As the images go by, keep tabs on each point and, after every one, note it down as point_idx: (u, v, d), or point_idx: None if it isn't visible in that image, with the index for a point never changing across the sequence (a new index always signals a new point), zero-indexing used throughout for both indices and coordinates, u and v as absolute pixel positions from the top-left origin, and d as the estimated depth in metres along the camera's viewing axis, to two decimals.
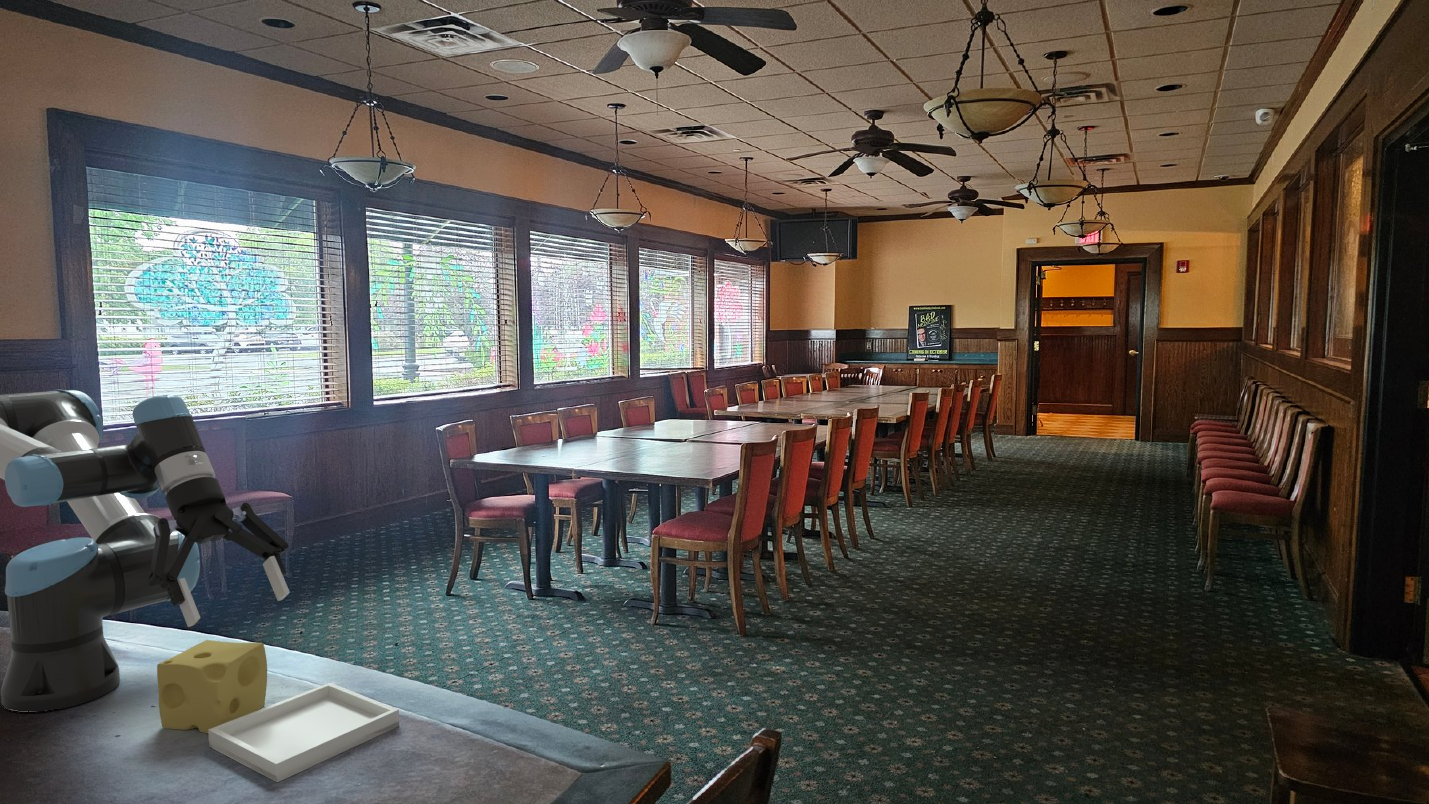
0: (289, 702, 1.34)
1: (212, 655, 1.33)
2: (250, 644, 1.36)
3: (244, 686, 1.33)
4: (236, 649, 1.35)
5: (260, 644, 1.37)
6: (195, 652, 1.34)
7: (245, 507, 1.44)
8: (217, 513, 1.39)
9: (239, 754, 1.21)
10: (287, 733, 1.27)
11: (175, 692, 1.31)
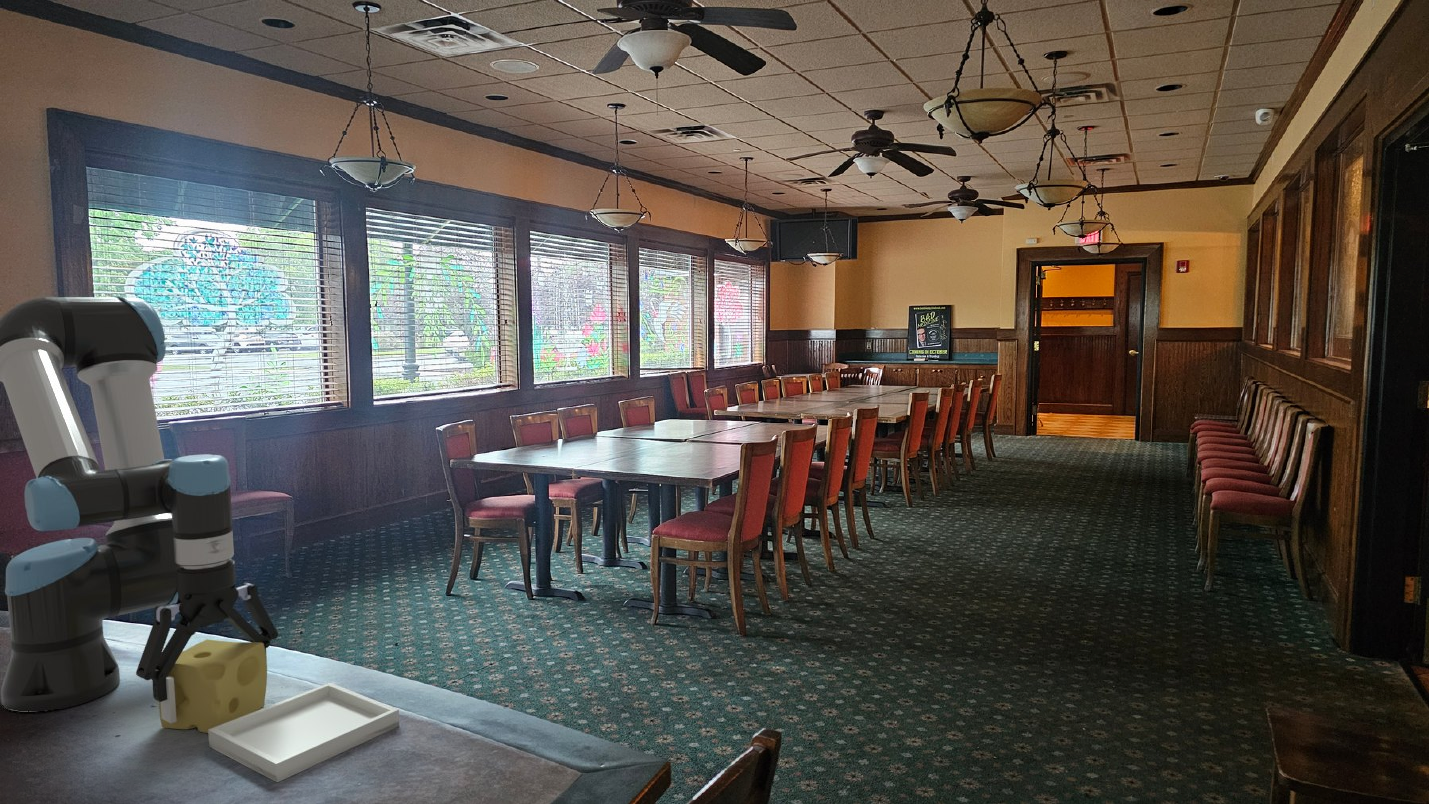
0: (289, 702, 1.34)
1: (212, 655, 1.33)
2: (250, 644, 1.36)
3: (243, 686, 1.33)
4: (235, 648, 1.34)
5: (260, 643, 1.36)
6: (195, 652, 1.34)
7: (252, 591, 1.37)
8: (223, 602, 1.32)
9: (239, 754, 1.21)
10: (287, 733, 1.27)
11: None
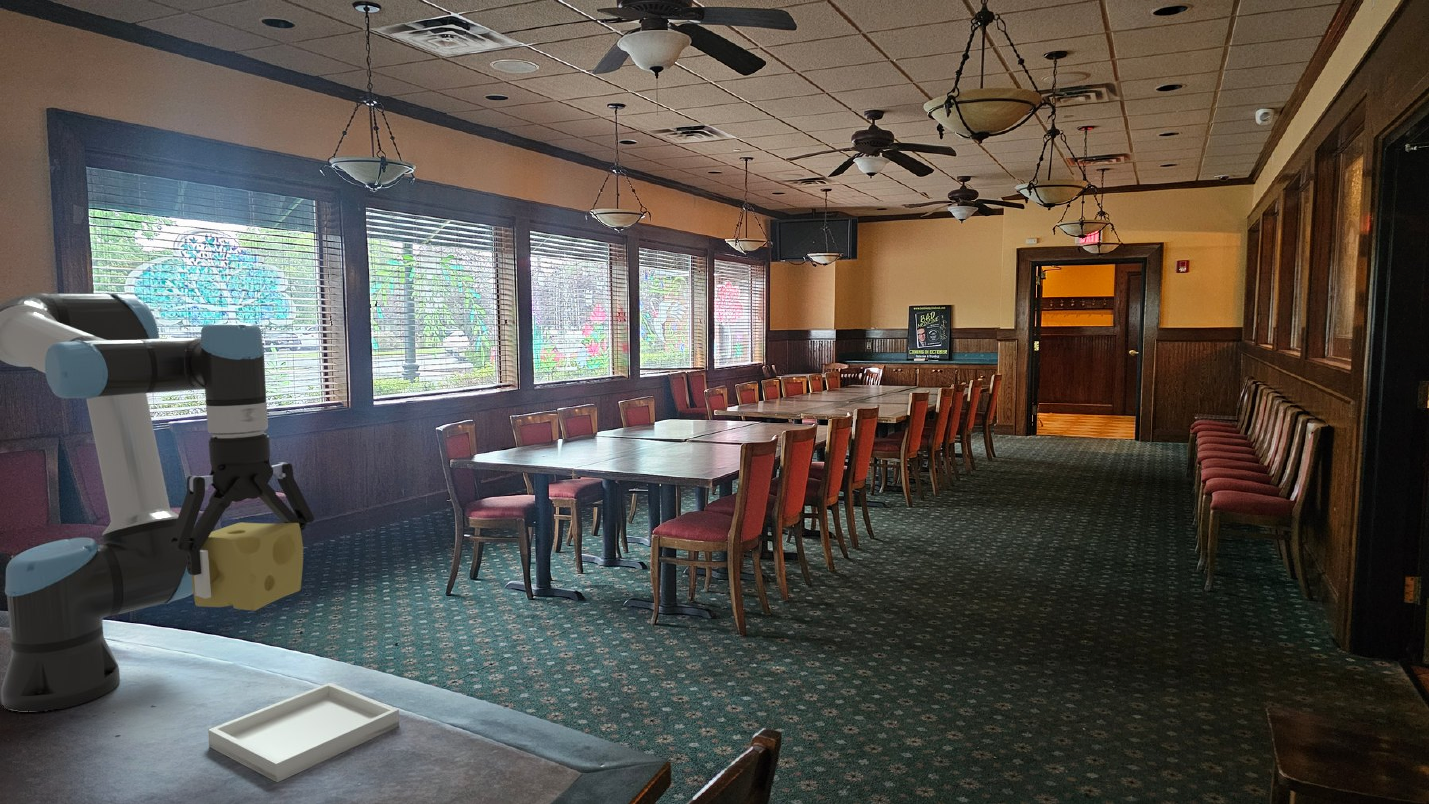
0: (289, 702, 1.34)
1: (246, 532, 1.27)
2: (285, 524, 1.31)
3: (279, 565, 1.28)
4: (270, 527, 1.29)
5: (296, 523, 1.31)
6: (229, 530, 1.28)
7: (287, 469, 1.31)
8: (257, 476, 1.27)
9: (239, 754, 1.21)
10: (287, 733, 1.27)
11: None
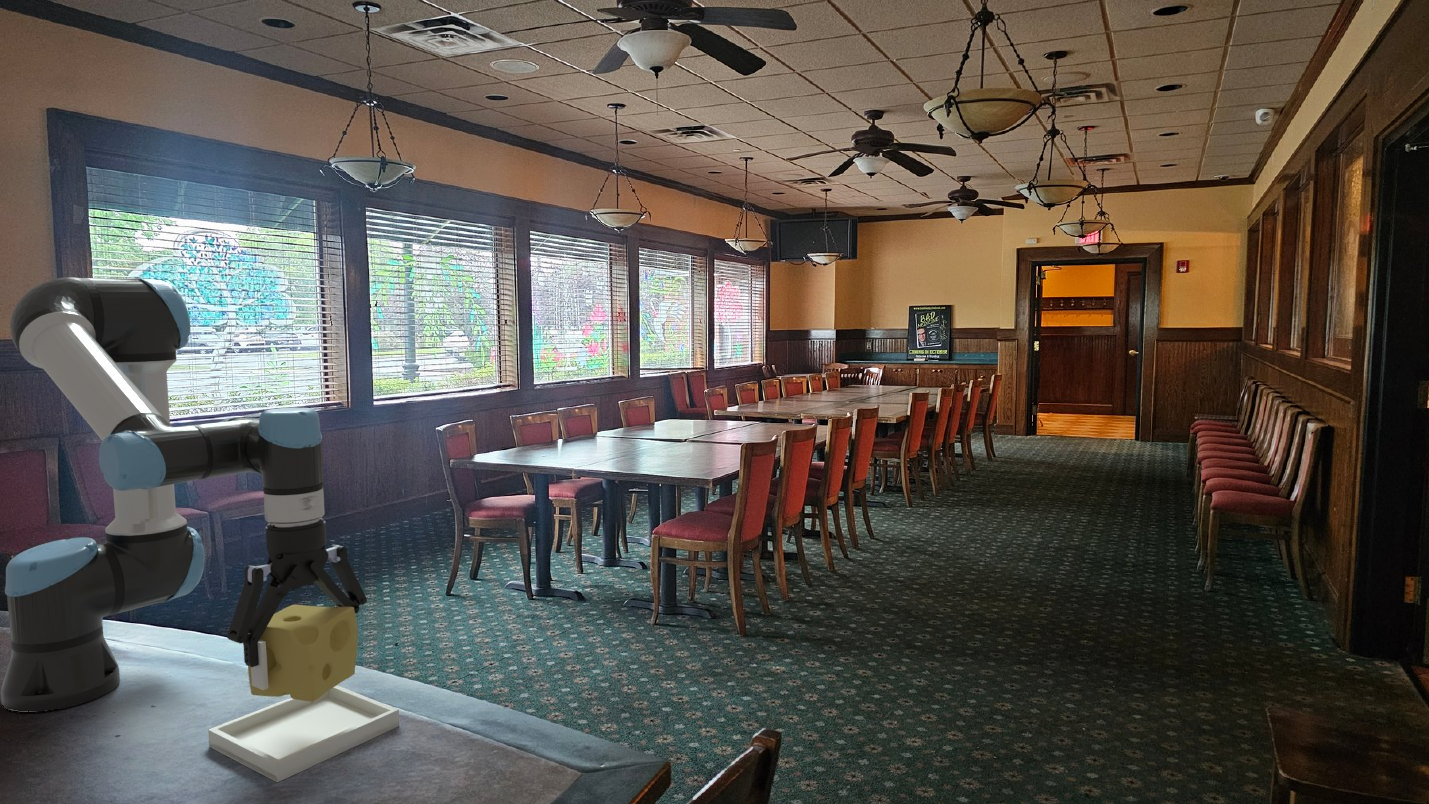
0: (289, 702, 1.34)
1: (302, 618, 1.26)
2: (340, 608, 1.29)
3: (335, 652, 1.26)
4: (326, 612, 1.27)
5: (351, 607, 1.29)
6: (284, 616, 1.27)
7: (341, 552, 1.30)
8: (314, 563, 1.25)
9: (239, 754, 1.21)
10: (287, 733, 1.27)
11: None
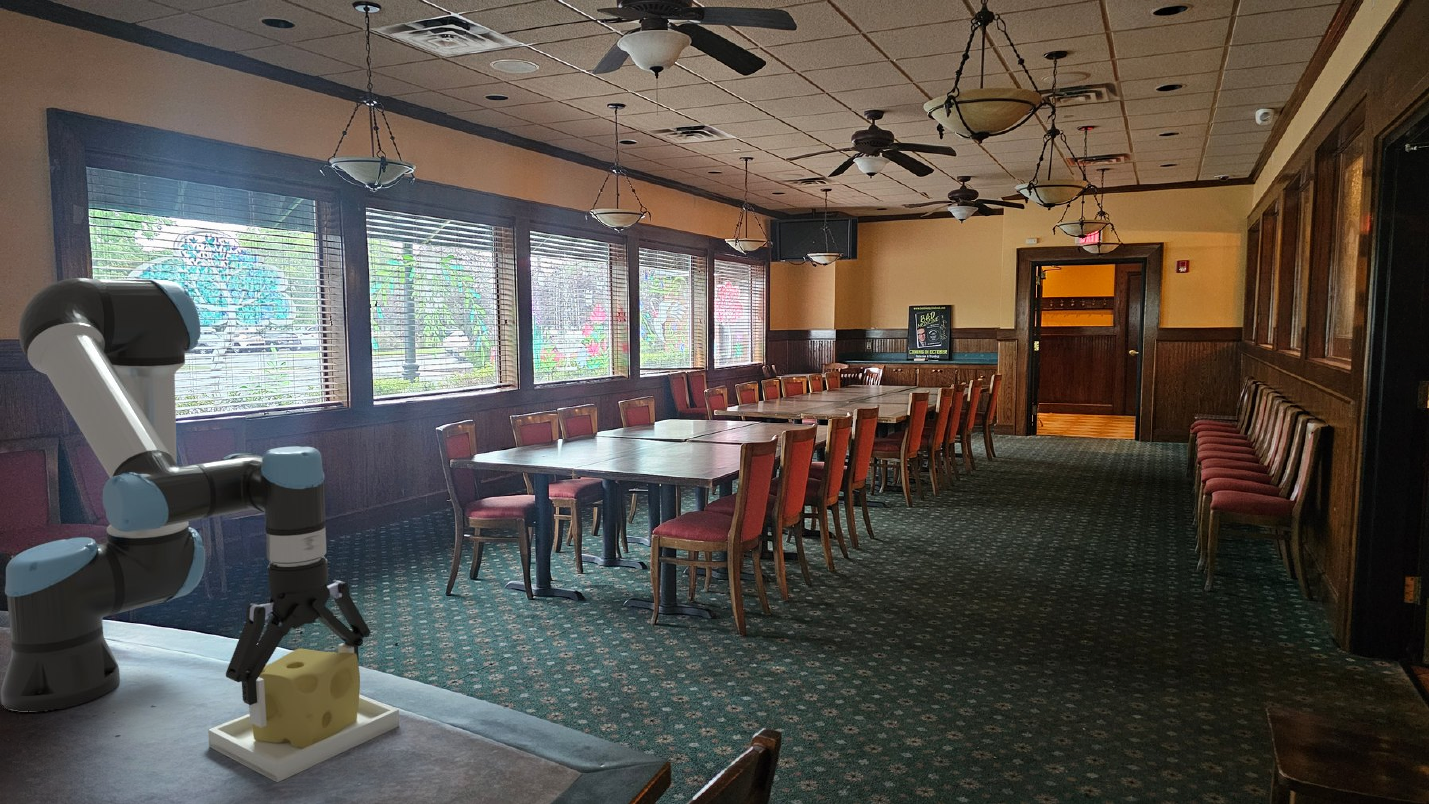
0: None
1: (305, 665, 1.27)
2: (343, 655, 1.30)
3: (336, 699, 1.27)
4: (328, 659, 1.29)
5: (353, 654, 1.30)
6: (288, 662, 1.28)
7: (343, 588, 1.30)
8: (315, 601, 1.26)
9: (239, 754, 1.21)
10: None
11: (267, 703, 1.26)
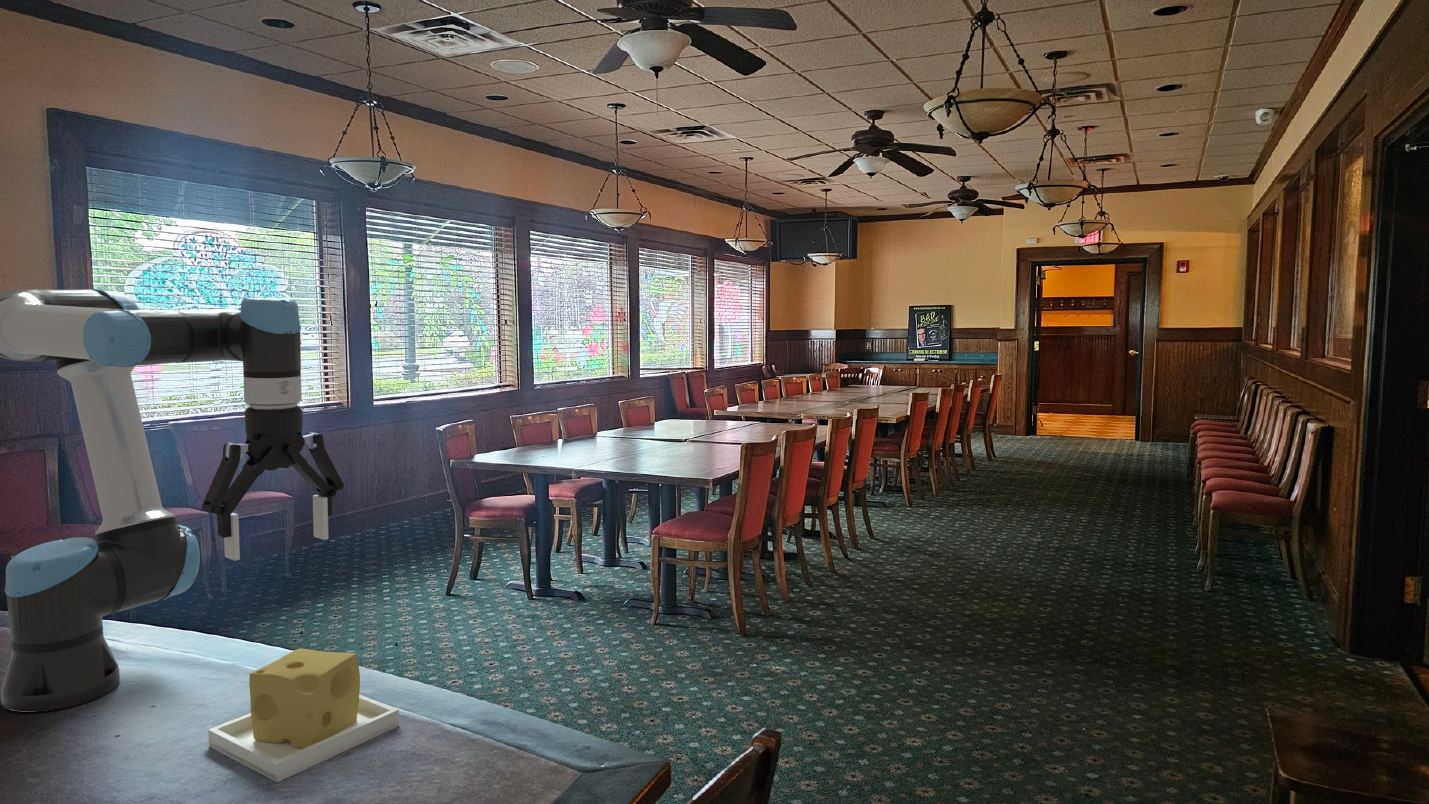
0: None
1: (305, 665, 1.27)
2: (343, 655, 1.30)
3: (336, 699, 1.27)
4: (328, 659, 1.29)
5: (353, 654, 1.30)
6: (288, 662, 1.28)
7: (318, 439, 1.36)
8: (290, 447, 1.32)
9: (239, 754, 1.21)
10: None
11: (267, 703, 1.26)
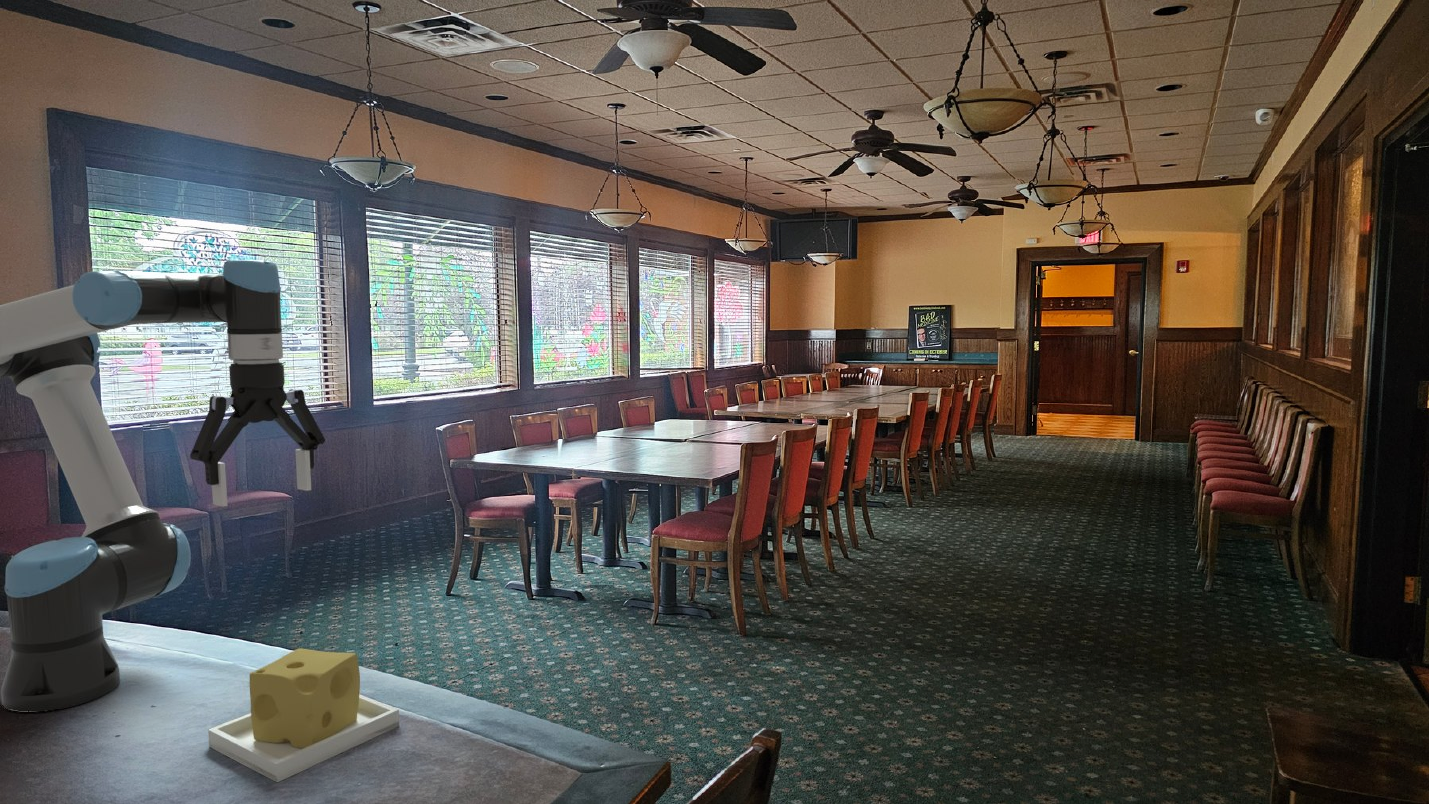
0: None
1: (305, 665, 1.27)
2: (343, 655, 1.30)
3: (336, 699, 1.27)
4: (328, 659, 1.29)
5: (353, 654, 1.30)
6: (288, 662, 1.28)
7: (299, 395, 1.44)
8: (272, 400, 1.40)
9: (239, 754, 1.21)
10: None
11: (267, 703, 1.26)
